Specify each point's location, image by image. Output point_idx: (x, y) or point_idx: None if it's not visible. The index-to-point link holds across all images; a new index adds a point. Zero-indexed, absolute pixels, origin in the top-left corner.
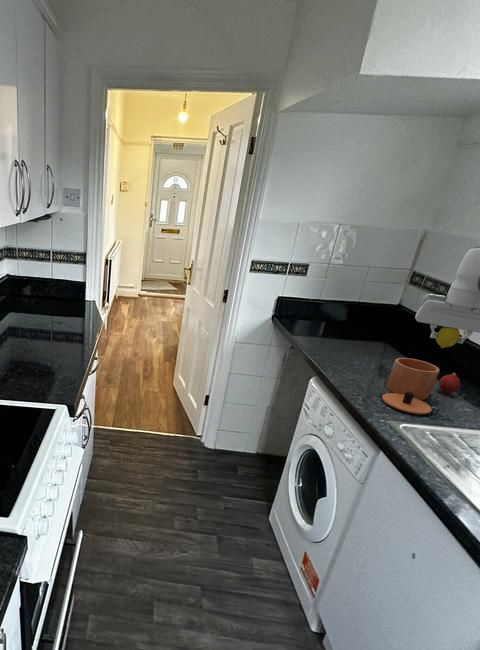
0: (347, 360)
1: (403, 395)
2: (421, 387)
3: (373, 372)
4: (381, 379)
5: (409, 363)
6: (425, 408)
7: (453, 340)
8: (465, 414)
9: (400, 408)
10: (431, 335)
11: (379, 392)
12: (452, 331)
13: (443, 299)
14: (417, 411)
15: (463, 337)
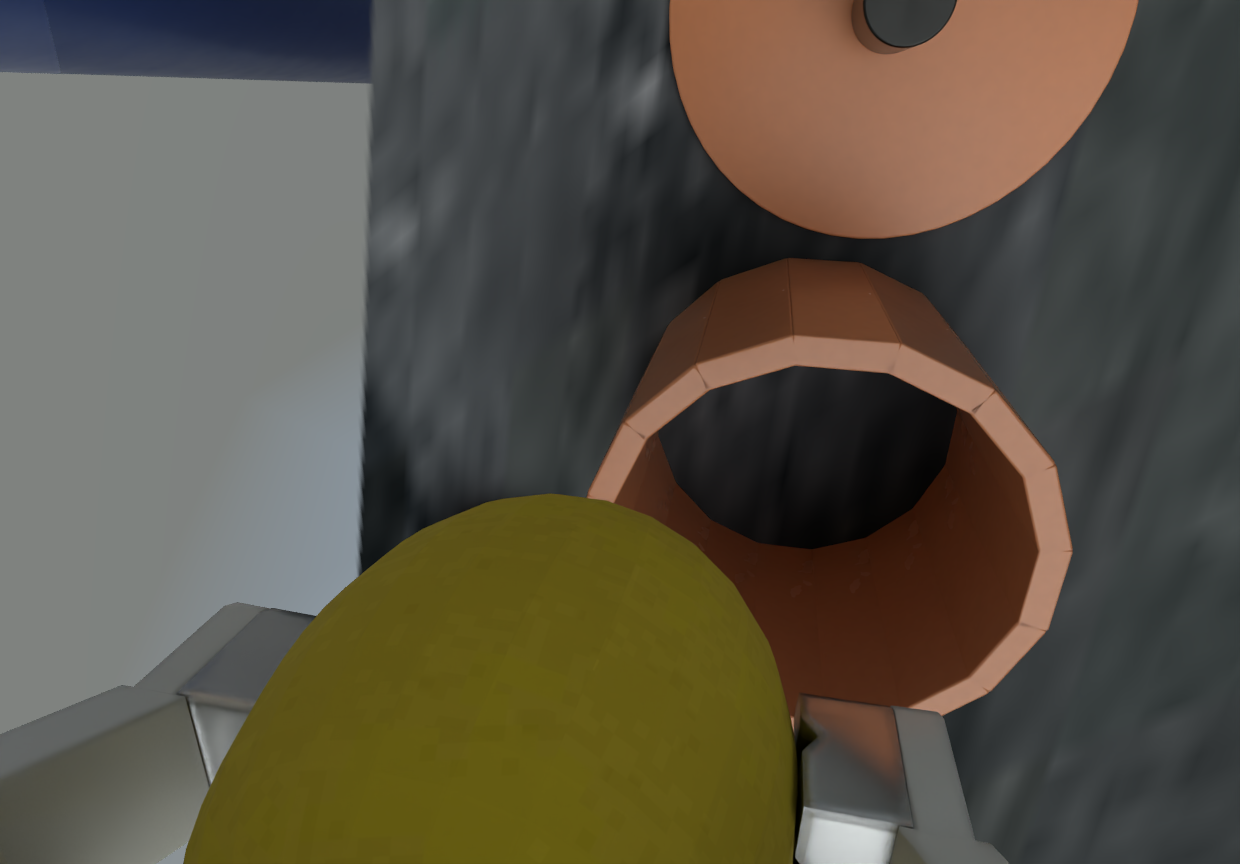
0: (1207, 849)
1: (879, 212)
2: (741, 298)
3: (1025, 676)
4: None
5: (833, 680)
6: None
7: (402, 557)
8: (409, 105)
9: None
10: (949, 774)
11: (1116, 167)
12: (380, 826)
13: None
14: None
15: (144, 725)
